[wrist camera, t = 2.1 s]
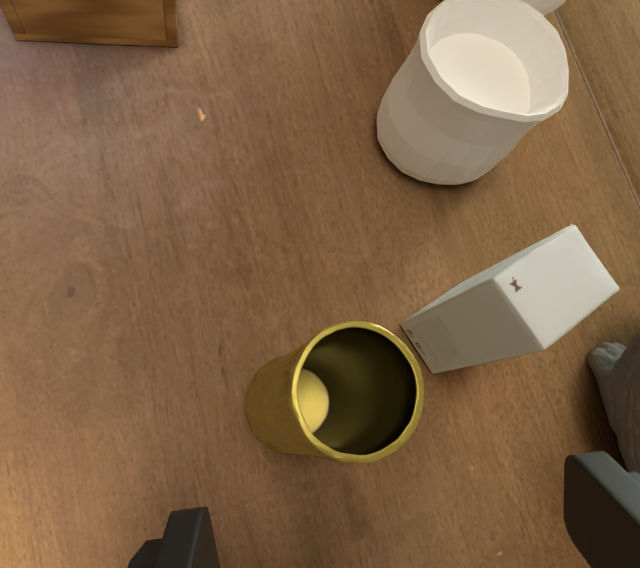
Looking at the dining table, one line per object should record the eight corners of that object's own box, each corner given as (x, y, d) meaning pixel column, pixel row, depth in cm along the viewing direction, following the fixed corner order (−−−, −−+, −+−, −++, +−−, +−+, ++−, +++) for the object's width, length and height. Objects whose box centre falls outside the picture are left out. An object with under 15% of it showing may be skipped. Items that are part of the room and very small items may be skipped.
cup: (512, 166, 41) (601, 91, 32) (413, 214, 38) (481, 147, 28) (450, 69, 42) (519, -30, 33) (349, 108, 39) (395, 10, 30)
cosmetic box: (432, 376, 35) (542, 354, 23) (397, 324, 35) (489, 276, 24) (495, 331, 37) (625, 289, 25) (461, 281, 37) (574, 219, 26)
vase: (237, 447, 31) (264, 466, 17) (254, 347, 33) (291, 294, 19) (334, 460, 32) (431, 487, 18) (345, 362, 34) (441, 322, 20)
